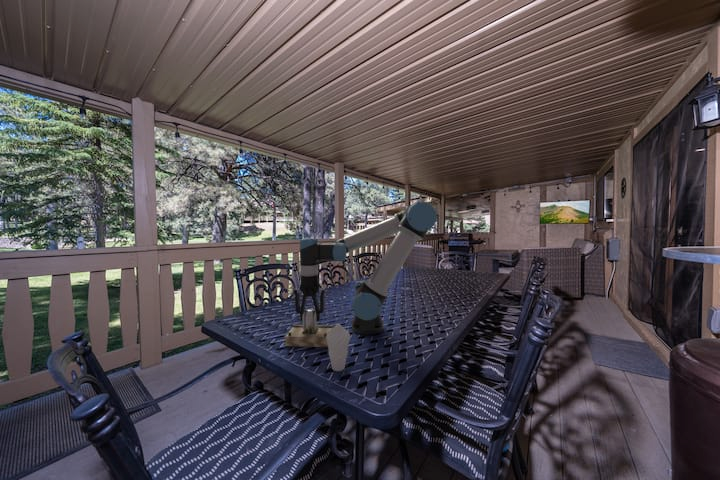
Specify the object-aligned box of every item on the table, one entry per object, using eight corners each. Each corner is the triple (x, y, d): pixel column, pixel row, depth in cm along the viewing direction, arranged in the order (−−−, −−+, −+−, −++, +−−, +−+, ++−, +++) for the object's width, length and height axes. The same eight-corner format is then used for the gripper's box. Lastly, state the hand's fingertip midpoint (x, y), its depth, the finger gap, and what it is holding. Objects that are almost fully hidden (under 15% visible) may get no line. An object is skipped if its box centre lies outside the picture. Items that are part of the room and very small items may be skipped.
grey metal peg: (316, 331, 118) (316, 308, 118) (314, 335, 114) (313, 312, 113) (306, 331, 118) (306, 308, 118) (303, 335, 114) (303, 311, 113)
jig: (333, 334, 122) (333, 324, 121) (328, 347, 110) (328, 334, 109) (294, 334, 123) (294, 323, 123) (285, 346, 111) (284, 334, 111)
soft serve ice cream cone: (326, 362, 97) (326, 319, 96) (349, 361, 98) (349, 318, 97) (325, 375, 89) (325, 327, 88) (351, 374, 90) (350, 326, 89)
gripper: (331, 273, 118) (331, 325, 119) (292, 272, 119) (293, 324, 120) (328, 276, 110) (328, 332, 112) (286, 276, 111) (287, 331, 113)
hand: (310, 328), depth 116 cm, fingers closed on grey metal peg, 4 cm apart
